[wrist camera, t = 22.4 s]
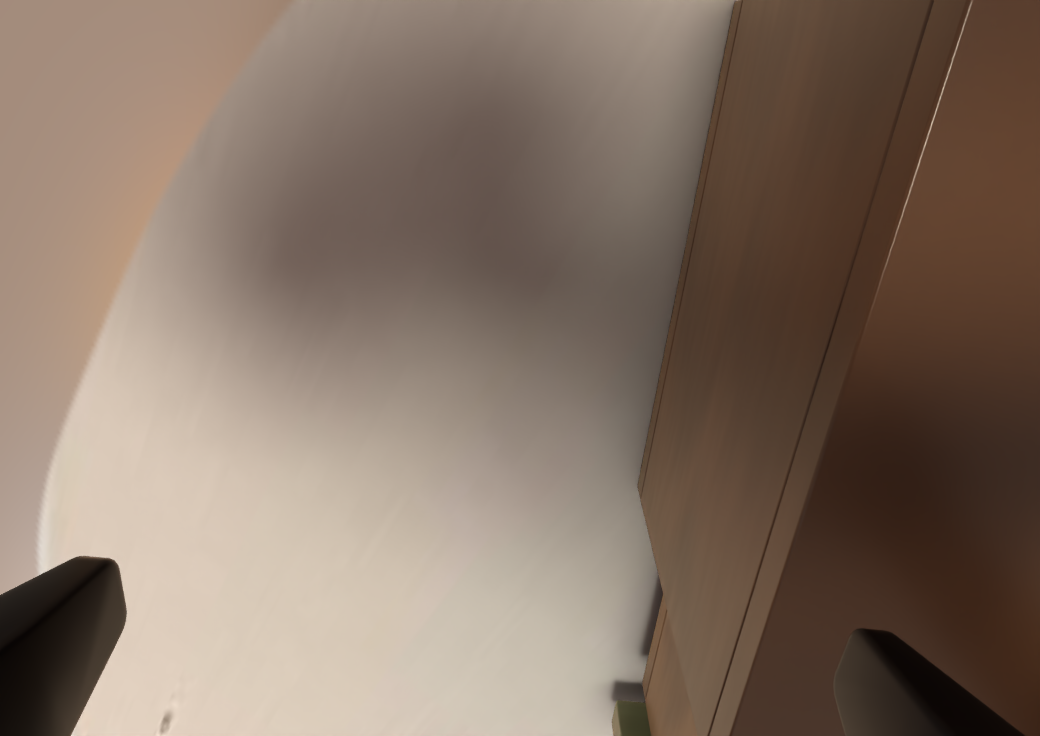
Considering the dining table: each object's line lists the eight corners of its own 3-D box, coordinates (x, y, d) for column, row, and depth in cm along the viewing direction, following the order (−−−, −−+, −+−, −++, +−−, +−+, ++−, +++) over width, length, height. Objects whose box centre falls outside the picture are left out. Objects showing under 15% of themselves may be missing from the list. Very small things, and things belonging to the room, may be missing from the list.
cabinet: (1001, 522, 23) (1341, 850, 13) (636, 487, 23) (710, 795, 13) (1222, 54, 17) (2118, 28, 7) (734, 0, 17) (999, -98, 7)
